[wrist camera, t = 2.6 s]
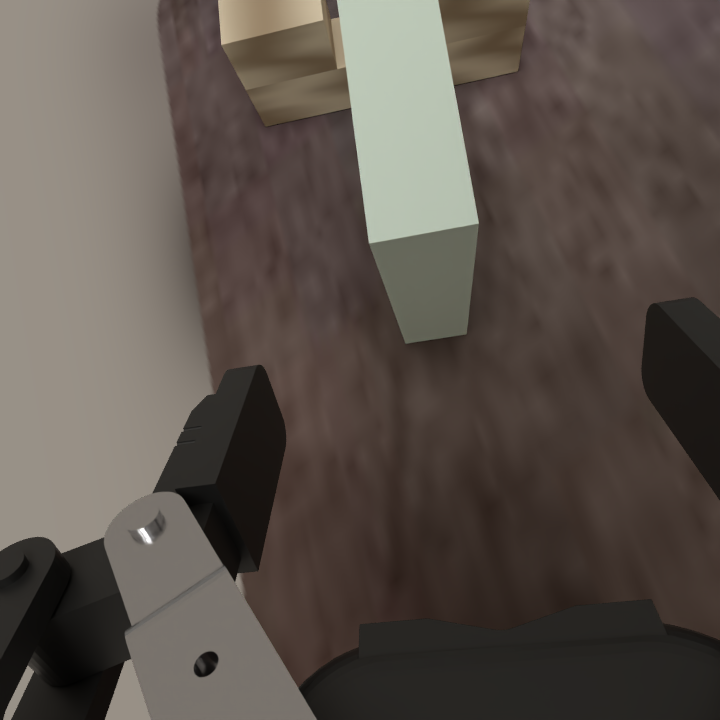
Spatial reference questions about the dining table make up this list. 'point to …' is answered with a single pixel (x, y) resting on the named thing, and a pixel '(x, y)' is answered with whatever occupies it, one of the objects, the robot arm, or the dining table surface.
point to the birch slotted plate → (326, 53)
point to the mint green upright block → (411, 162)
